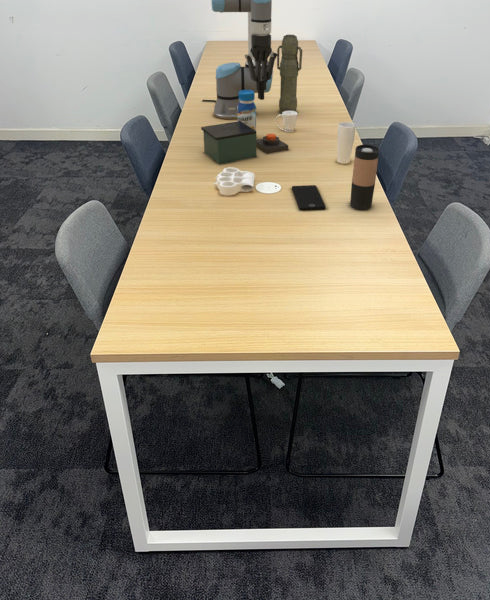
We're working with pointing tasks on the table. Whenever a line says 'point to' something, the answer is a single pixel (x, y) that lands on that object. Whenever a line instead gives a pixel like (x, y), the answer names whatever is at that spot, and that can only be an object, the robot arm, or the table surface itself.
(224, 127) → the box lid
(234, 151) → the green box
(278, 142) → the control pad
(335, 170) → the table surface
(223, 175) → the white holed block
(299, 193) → the cell phone
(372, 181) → the travel mug
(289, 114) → the cup
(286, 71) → the thermos
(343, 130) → the drinking glass
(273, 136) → the button
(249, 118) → the beverage bottle
